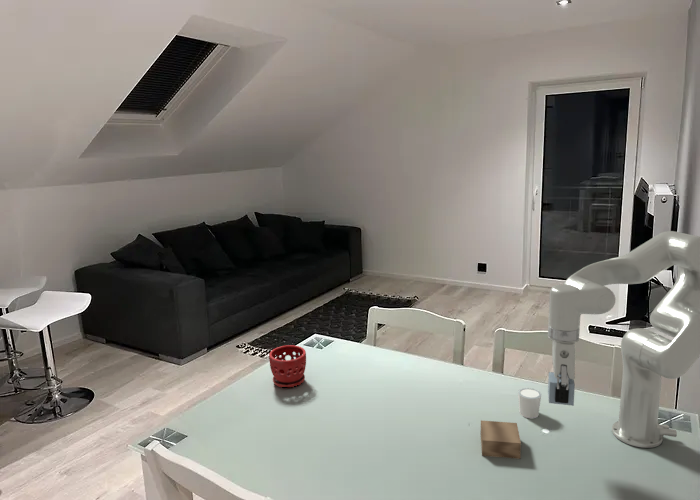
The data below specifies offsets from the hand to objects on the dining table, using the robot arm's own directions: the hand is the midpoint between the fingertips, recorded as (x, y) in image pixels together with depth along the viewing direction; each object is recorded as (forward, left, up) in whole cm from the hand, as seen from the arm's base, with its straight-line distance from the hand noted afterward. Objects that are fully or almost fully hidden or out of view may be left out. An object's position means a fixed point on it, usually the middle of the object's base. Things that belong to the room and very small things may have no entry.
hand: (560, 395), depth 138 cm
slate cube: (0, 0, -1) cm, 1 cm away
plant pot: (+89, -20, -17) cm, 93 cm away
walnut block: (+15, +1, -17) cm, 23 cm away
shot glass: (+7, -19, -17) cm, 27 cm away
